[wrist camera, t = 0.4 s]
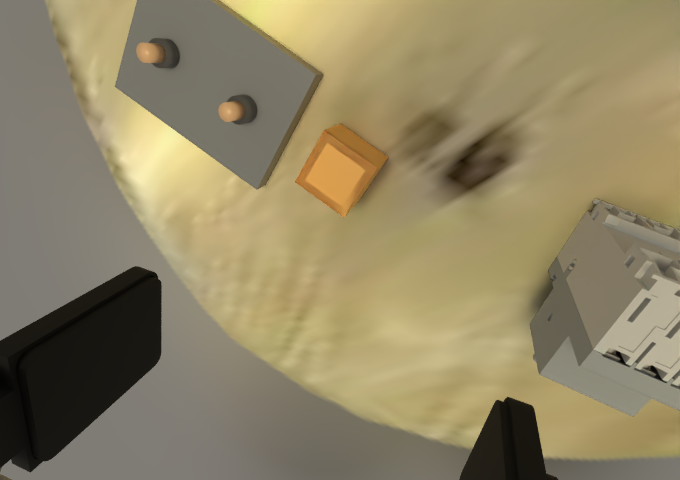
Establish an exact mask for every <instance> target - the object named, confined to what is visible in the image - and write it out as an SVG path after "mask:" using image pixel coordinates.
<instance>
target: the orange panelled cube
mask: <svg viewBox="0 0 680 480" xmlns="http://www.w3.org/2000/svg"><path fill="white" fill-rule="evenodd" d="M387 159H388V157H387V156H386V155H384V154H383V153H381V152H380V151H379V150H377V149H376V148H374V147H373V146H372V145H370V144H369V143H367V142H366V141H365V140H363V139H362V138H360V137H359V136H358V135H356V134H355V133H353V132H352V131H351V130H349V129H348V128H346V127H345V126H343V125H342V124H339V125H336V126H334V127H331V128H329V129H326V130H324V132H323V133H322V135H321V137H320V139H319V140H318V142H317V144H316V146H315V147H314V149H313V151H312V153H311V154H310V156H309V158H308V160H307V161H306V163H305V165H304V167H303V169H302V170H301V172H300V174H299V176H298V177H297V179H296V181H295V182H296V183H297V184H298V185H300V186H301V187H303V188H304V189H305V190H307V191H308V192H310V193H311V194H312V195H314V196H315V197H316V198H318V199H319V200H321V201H322V202H323V203H325V204H326V205H328V206H329V207H330V208H332V209H333V210H334V211H336V212H337V213H339V214H340V215H341V216H343V217H345V216H346V215H347V214H348V213H349V211H350V210H351V209H352V208H353V207H354V206H355V205H356V204H357V203H358V201H359V200H360V198H361V197H362V196H363V194H364V193H365V191H366V190H367V188H368V187H369V185H370V184H371V182H372V181H373V179H374V178H375V177H376V175H377V174H378V172H379V171H380V169H381V168H382V166H383V165H384V163H385V162H386V160H387Z"/></svg>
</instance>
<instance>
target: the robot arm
mask: <svg viewBox="0 0 680 480" xmlns="http://www.w3.org/2000/svg"><path fill="white" fill-rule="evenodd" d="M160 356H161V281H160V280H159V279H158V276H157V274H156V273H155V272H152V271H149V270H146V269H144V268H141V267H136V266H135V267H132V268H131V269H129V270H127V271H125V272H123V273H122V274H120V275H118V276H116V277H114V278H112V279H111V280H109V281H107V282H105V283H103V284H102V285H100V286H98V287H96V288H94V289H93V290H91V291H89V292H87V293H86V294H84V295H82V296H80V297H78V298H76V299H75V300H73V301H71V302H69V303H67V304H66V305H64V306H62V307H60V308H58V309H57V310H55V311H53V312H51V313H49V314H48V315H46V316H44V317H42V318H41V319H39V320H37V321H35V322H33V323H31V324H30V325H28V326H26V327H24V328H22V329H21V330H19V331H17V332H15V333H13V334H12V335H10V336H8V337H6V338H5V339H3V340H1V341H0V471H1V468H2V466H3V465H4V464H5V463H7V462H8V461H9V460H10V459H11V460H12V463H13V464H15V465H17V466H19V467H21V468H23V469H25V470H27V471H29V472H31V471H33V470H34V469H35V468H36V467H37V466H38V465H39V464H40V463H42V462H43V461H48V460H50V459H52V458H53V457H54V456H56V455H57V454H58V453H59V452H60V451H61V450H62V449H63V448H64V447H65V446H66V445H68V444H69V443H70V442H71V441H72V440H73V439H74V438H76V437H77V436H78V435H79V434H80V433H81V432H82V431H83V430H84V429H85V428H87V427H88V426H89V425H90V424H91V423H92V422H93V421H94V420H95V419H97V418H98V417H99V416H100V415H101V414H102V413H103V412H104V411H105V410H107V409H108V408H109V407H110V406H111V405H112V404H113V403H114V402H115V401H116V400H118V399H119V398H120V397H121V396H122V395H123V394H124V393H125V392H126V391H128V390H129V389H130V388H131V387H132V386H133V385H134V384H135V383H136V382H137V381H138V380H139V379H141V378H142V377H143V376H144V375H145V374H146V373H147V372H148V371H150V370H151V369H152V368H153V367H154V366H155V365H156V364H157V362H158V361H159V359H160ZM0 480H11V479H9V478H7V477H5V476H3V475H1V474H0ZM460 480H558V479H557V478H556V477H554V476H551V475H548V474H546V470H545V465H544V459H543V454H542V449H541V443H540V438H539V432H538V427H537V422H536V416H535V411H534V408H533V406H532V405H529V404H526V403H524V402H521V401H518V400H515V399H512V398H509V397H507V398H506V399H505V400H504V402H502V401H499V400H496V401H495V403H494V405H493V407H492V409H491V411H490V414H489V416H488V418H487V420H486V422H485V424H484V426H483V428H482V431H481V433H480V435H479V437H478V439H477V441H476V443H475V445H474V447H473V450H472V452H471V454H470V456H469V458H468V461H467V462H466V464H465V466H464V469H463V471H462V473H461V476H460Z"/></svg>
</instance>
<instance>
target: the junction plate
mask: <svg viewBox="0 0 680 480" xmlns="http://www.w3.org/2000/svg"><path fill="white" fill-rule="evenodd" d="M322 76H323V74H322V73H321V72H319V71H318V70H316V69H315V68H314V67H312V66H311V65H309V64H308V63H307V62H305V61H304V60H302V59H301V58H299V57H298V56H297V55H295V54H294V53H292V52H291V51H290V50H288V49H287V48H285V47H284V46H283V45H281V44H280V43H278V42H277V41H276V40H274V39H273V38H271V37H270V36H268V35H267V34H266V33H264V32H263V31H261V30H260V29H259V28H257V27H256V26H254V25H253V24H252V23H250V22H249V21H247V20H246V19H245V18H243V17H242V16H240V15H239V14H237V13H236V12H235V11H233V10H232V9H230V8H229V7H228V6H226V5H225V4H223V3H222V2H221V1H219V0H137V3H136V7H135V11H134V15H133V19H132V23H131V26H130V30H129V34H128V38H127V42H126V46H125V50H124V54H123V57H122V61H121V65H120V69H119V73H118V77H117V81H116V84H115V87H116V88H117V89H119V90H120V91H122V92H123V93H124V94H126V95H127V96H129V97H130V98H131V99H133V100H134V101H135V102H137V103H138V104H140V105H141V106H142V107H144V108H145V109H146V110H148V111H149V112H151V113H152V114H153V115H155V116H156V117H157V118H159V119H160V120H162V121H163V122H164V123H166V124H167V125H168V126H170V127H171V128H173V129H174V130H175V131H177V132H178V133H179V134H181V135H182V136H184V137H185V138H186V139H188V140H189V141H191V142H192V143H193V144H195V145H196V146H197V147H199V148H200V149H202V150H203V151H204V152H206V153H207V154H208V155H210V156H211V157H213V158H214V159H215V160H217V161H218V162H219V163H221V164H222V165H224V166H225V167H226V168H228V169H229V170H230V171H232V172H233V173H235V174H236V175H237V176H239V177H240V178H241V179H243V180H244V181H246V182H247V183H248V184H250V185H251V186H253V187H254V188H255V189H259V188H261V187H263V186H264V185H265V184H266V183H267V181H268V179H269V177H270V175H271V173H272V171H273V169H274V167H275V165H276V164H277V162H278V160H279V158H280V156H281V154H282V152H283V150H284V148H285V146H286V145H287V143H288V141H289V139H290V137H291V135H292V133H293V131H294V129H295V127H296V125H297V124H298V122H299V120H300V118H301V116H302V114H303V112H304V110H305V108H306V106H307V105H308V103H309V101H310V99H311V97H312V95H313V93H314V91H315V89H316V87H317V86H318V84H319V82H320V80H321V78H322Z"/></svg>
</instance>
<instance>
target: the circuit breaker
mask: <svg viewBox="0 0 680 480" xmlns="http://www.w3.org/2000/svg"><path fill="white" fill-rule="evenodd" d="M593 203H594V204H596V205H595V207H594V208H593V210H592V211H591V212H589V211H586V213H585V214H584V216H583V217H582V219H581V220H580V222H579V223H578V225H577V227H576V228H575V230H574V231H573V233H572V234H571V236H570V237H569V239H568V240H567V242H566V243H565V245H564V246H563V248H562V250H561V251H560V253H559V254H558V256H557V257H556V259H555V260H554V262H553V263H552V265H551V266H550V268H549V270H548V272H549V275H550V278H551V279H552V280H554V281H553V282H552V284H553V290H552V291H551V293H550V294H549V296H548V297H547V299H546V300H545V302H544V303H543V305H542V306H541V308H540V309H539V311H538V312H537V314H536V315H535V317H534V318H533V320H532V321H531V323H530V329H531V334H532V340H533V345H534V351H535V353H534V355H533V359H534V361H535V362H537V367H538V372H539V375H541V376H544V377H546V378H548V379H550V380H552V381H555V382H557V383H559V384H561V385H564V386H566V387H568V388H570V389H572V390H575V391H577V392H579V393H581V394H584V395H586V396H588V397H590V398H592V399H595V400H597V401H599V402H601V403H604V404H606V405H608V406H610V407H612V408H615V409H617V410H619V411H621V412H624V413H626V414H628V415H630V416H632V417H634V416H635V415H636V414H637V413H638V412H639V411H640V410H641V409H642V408H643V407H644V406H645V404H646V403H647V402H648V401H649V400H650V399H651V398H652V399H654V400H656V401H659V402H661V403H663V404H665V405H668V406H670V407H672V408H674V409H677V410H679V411H680V230H678V229H676V228H673V227H670V226H668V225H665V224H662V223H660V222H657V221H654V220H652V219H649V218H647V217H644V216H641V215H639V214H636V213H633V212H631V211H628V210H625V209H623V208H620V207H617V206H615V205H612V204H610V203H607V202H604V201H602V200H599V199H596V198H595V199H594V200H593ZM606 208H607V209H609V210H607V209H606Z"/></svg>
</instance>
